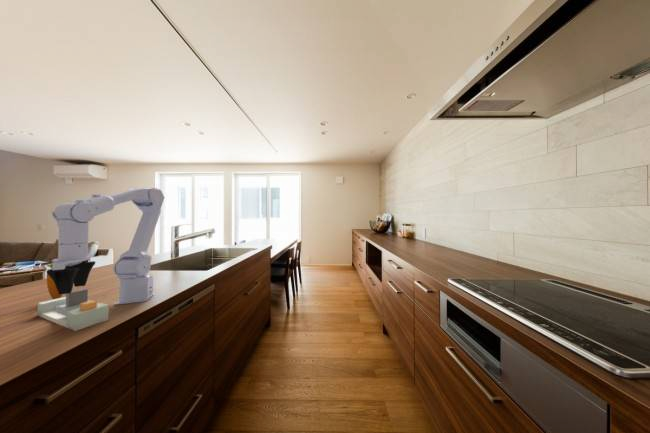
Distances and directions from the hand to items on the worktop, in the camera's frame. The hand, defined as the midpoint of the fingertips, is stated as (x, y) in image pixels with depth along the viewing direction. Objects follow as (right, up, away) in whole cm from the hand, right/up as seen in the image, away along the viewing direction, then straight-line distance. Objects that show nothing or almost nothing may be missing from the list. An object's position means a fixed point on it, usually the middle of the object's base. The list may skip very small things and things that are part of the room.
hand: (73, 289), depth 63 cm
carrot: (-27, -11, +17) cm, 34 cm away
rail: (-5, -10, +4) cm, 12 cm away
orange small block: (+4, -8, 0) cm, 9 cm away
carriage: (-2, -7, +3) cm, 8 cm away
